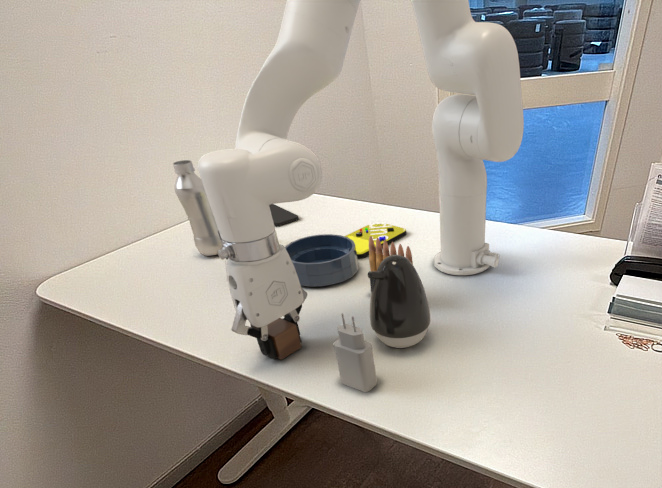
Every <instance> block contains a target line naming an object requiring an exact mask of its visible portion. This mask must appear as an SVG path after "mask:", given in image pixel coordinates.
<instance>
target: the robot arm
mask: <svg viewBox="0 0 662 488" xmlns="http://www.w3.org/2000/svg"><path fill="white" fill-rule="evenodd" d="M410 2H411V5H412V9H413V13H414V17H415V21H416V27H417V30H418V34H419V39H420V44H421V48H422V52H423V58H424V62H425V67H426V70H427V74H428V77H429V80H430V82H431V83H432V84H433V86H434V87H435V88H437V89H439V90H441V91H444V92H449V93H456V94H452V95H449V96H447V97H444V98H443V99H441V101H440V102H439V103H438V104H437V106H436V107H435V110H434V112H433V115H432V120H431V131H432V138H433V139H432V140H433V143H434V148H435V153H436V160H437V171H438V195H439V196H438V198H439V199H438V202H439V235H440V236H439V237H440V238H439V239H440V251H439V252H437V254H435V256H434V257H433V265H434V267H435V268H436V269H437V270H438V271H440V272H442V273H445V274H446V275H447V274H448V275H452V276H472V275H477V274H481V273H482V272H484V271H486V270H487V269H489V268H490V267H492V268H497V267H498V266H499V262H500V254H499V253H497V252H493V251H492V252H491V250H490V243H488V242H486V222H487V221H486V219H487V191H488V174H487V169H486V165H485V163H484V161H488V162H493V163H503V162H504V163H505V162H508V161H509V160H511V159H512V158H513V157H515V155H516V154H517V153H518V152H519V149H520V148H521V145H522V141H523V137H524V129H525V128H524V127H525V125H524V124H525V122H524V121H525V120H524V119H525V118H524V105H523V95H522V94H523V92H522V82H521V81H522V80H521V68H520V60H519V53H518V49H517V44H516V42H515V39H514V37H513V36H512V34H511V33H510V31H509V30H508V29H507V28H506V27H504V26H503V25H501V24H499V23H496V22H488V21H484V22H483V21H481V22H480V21H476V20H475V19H474V18H473V15H472V12H471V8H470V2H469V0H410ZM360 3H361V0H286V2H285V5H284V6H285V7H284V10H283V15H282V19H281V22H280V23H281V24H280V28H279V32H278V36H277V39H276V42H275V45H274V47H273V48H272V50H271V52H270V53H269V54H268V56H267V58H266V59H265V61H264V63H263V64H262V66H261V67H260V70H259V72H258V73H257V74H256V76H255V78H254V80H253V81H252V83H251V85H250V86H249V89H248V91H247V94H246V96H245V99H244V102H243V106H242V109H241V113H240V118H239V123H238V127H237V132H236V136H235V144H234V148H223V149H217V150H216V149H215V150H213V151H210V152H207V153H205V154H203V155H202V156H200V158H199V159H198V162H197V170H198V174H199V177H200V178H201V180H202V183H203V186H204V189H205V192H206V195H207V198H208V201H209V204H210V207H211V210H212V212H213V215H214V218H215V221H216V224H217V227H218V230H219V233H220V236H221V239H222V240H221V242H222V245H223V247H222V248H221V249H220V250H218V251H217V253H218V254H217V255H218V257H219V258H220V259H221V260H225V259H226V258H228V259H226V260H225V261H224V263H225V273H226V279H227V284H228V290H229V293H230V298H231V301H232V304H233V307H234V310H235V313H234V314H235V315H234V318H233V322H232V326H231V331H232V333H235V334H237V335H242V336H250V337H253V338H255V339H256V340H257V345H258V348H259V351H260V352H261V354H262V355H264V356H267V357H269V358H271V359H273V360H276V359H278V358H277V357H278V356H277V352H276V349H275V346H274V343H273V340H272V338H270V337H268V324H270V323H272V322H273V321H275V320H277V319H279V318H281V319H284V320H286V321H288V322H291V323H293V324H295V325H296V327H297V331H298V335H299V339H300V342H301V343H302V341H303V340H302V337H301V331H300V328H299V327H300V326H299V323H298V322H300V320H301V319H300V313H301V311H302V308H303V304H304V303H305V300H306V299H307V297H308V292H307V291H306V290H305V289H303V288H302V285H300V282H299V279H298V276H297V273H296V270H295V268H294V265H293V263H292V261H291V258H290V256H289V254H288V252H287V250H286V248H285V245H283V244H280V242H279V239H278V235H277V231H276V226H275V225H274V223H273V219H272V215H271V211H270V207H269V205H270V204H275V205H276V204H284V203H293V202H299V201H303V200H305V199H308V198H309V197H311V196H313V195H314V194H315V193H316V192H317V191H318V190H319V188H320V186H321V183H322V180H323V167H322V164H321V161H320V159H319V157H318V156H317V155H316V154H315V153H314V151H313V150H311V148H309V147H307V146H306V145H304V144H302V143H300V142H297V141H294V140H290V139H287V138H288V135H289V132H290V129H291V126H292V123H293V121H294V118H295V116H296V115H297V113H298V111H299V110H300V109H301V107H302V106H303V105H304V104H305V103H306V102H307V101H308V100H309V99H310V98H311V97H313V96H315V94H317V93H319V92H320V91H322V90H324V89H325V88H327V87H328V86H329V85H330V84H332V83H333V82H334V81H335V80H336V79H337V78H338V77H339V76H340V75H341V72H342V69H343V66H344V62H345V58H346V54H347V50H348V46H349V43H350V39H351V35H352V32H353V28H354V24H355V20H356V16H357V13H358V9H359V5H360ZM247 321H248V322H249V324H250V326H249V325H246V323H247Z"/></svg>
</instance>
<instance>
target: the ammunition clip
mask: <svg viewBox="0 0 662 488" xmlns="http://www.w3.org/2000/svg"><path fill="white" fill-rule="evenodd" d="M391 255H401V256H404V257H406V258H407V259H408V260H409V261H410V262H411V263H412V265H413V266H414V262H413V253H412V250H411V247H410V246H409V245H407V247H406V249H405V252H404V248H403V245H402V244H401V243H399V244H398V247H397V248H396V245H395V242H392V243H391V244H390V247H389V245H388V244H387V241H386V240H384V243H383V248H382V246H381V242H380V240H379V238H377V240H376V250H375V244H374V241H373V238H372V236H370V237H369V256H368V262H369V270H370V271H377V269H378V267H379V265H380V263H381V262H382V261H383V260H384V259H385V258H386V257H388V256H391ZM373 282H374V279H370V278H369V285H370V292H371V291H372V286H373Z"/></svg>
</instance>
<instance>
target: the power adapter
mask: <svg viewBox="0 0 662 488" xmlns="http://www.w3.org/2000/svg"><path fill="white" fill-rule="evenodd" d="M341 321H342V324H339V325H337V334H338V339H336V340H335V341H334V342H333V349H334V354H335V359H336V363H337V368H338V373H339V377H340V383H341V384H342V385H344V386H347V387H349V388H352V389H354V390H358V391H360V392H363V393H368V392H370V391H371V390H372V389H373V388H374V387H376V386H377V385H378V379H377V371H376V365H375V358H374V352H373V345H372V342H370V341H368V340H365V338H364V333H363V329H362V328H361V327H358V326H356V323H355V317H354V316H351V321H352V324H348V323H346V321H345V316H344V313H341Z"/></svg>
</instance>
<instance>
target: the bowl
mask: <svg viewBox="0 0 662 488" xmlns="http://www.w3.org/2000/svg"><path fill="white" fill-rule="evenodd" d="M345 236H346V235H342V234H332V233H323V234H314V235H313V234H312V235H308V236H304V237H300V238H298V239H296V240H294V241H291V242H289V243H288V244H286V246H285V245H284V247H285V248H286V250H287V252H288V254H289V256H290V258H291V261H292V263H293V265H294V268H295V270H296V273H297V276H298V279H299V282H300V285H301V286H304V287H312V288H313V287H326V286H327V287H328V286H333V285H336V284H339V283H342V282H345V281H347V280H348V279H351V278H353V276H355V274H356V273H358V270H359V267H360V265H359V260H358V259H357V252H356V245H355V243H354V241H353V240H351V239H350V238H348V237H345Z"/></svg>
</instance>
